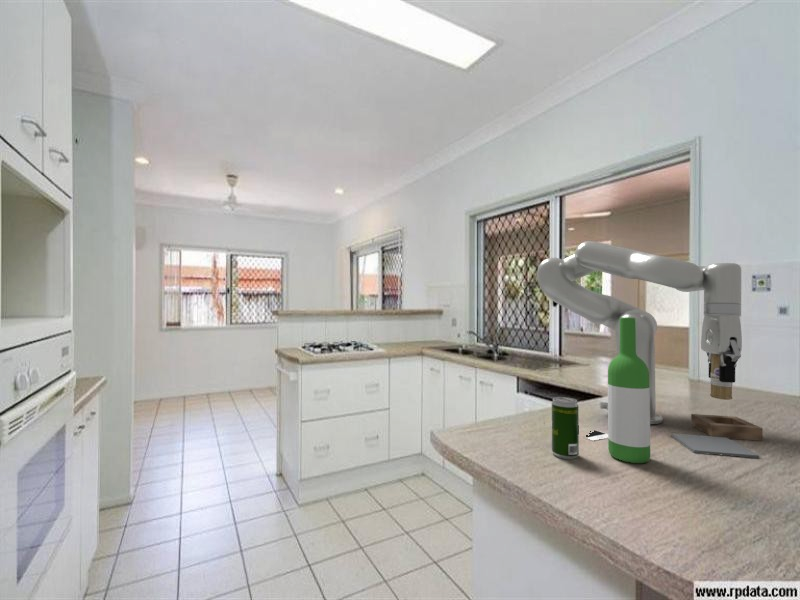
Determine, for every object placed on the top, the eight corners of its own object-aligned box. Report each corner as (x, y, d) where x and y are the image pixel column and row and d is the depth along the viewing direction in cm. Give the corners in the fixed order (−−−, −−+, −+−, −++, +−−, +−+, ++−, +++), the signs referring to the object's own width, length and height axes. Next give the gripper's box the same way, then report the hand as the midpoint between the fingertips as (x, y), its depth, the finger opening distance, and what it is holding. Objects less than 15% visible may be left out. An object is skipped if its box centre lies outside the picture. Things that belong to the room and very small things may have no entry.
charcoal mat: (694, 452, 84) (694, 450, 84) (670, 435, 96) (670, 433, 96) (759, 458, 81) (759, 455, 81) (726, 440, 93) (726, 437, 93)
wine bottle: (611, 461, 79) (609, 317, 80) (605, 449, 86) (604, 317, 87) (654, 467, 76) (653, 318, 77) (645, 454, 84) (644, 317, 84)
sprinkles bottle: (709, 398, 99) (710, 346, 99) (710, 395, 103) (710, 345, 103) (733, 401, 96) (733, 348, 96) (732, 398, 100) (733, 346, 100)
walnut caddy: (712, 436, 95) (711, 424, 95) (691, 424, 105) (691, 413, 105) (762, 440, 93) (762, 428, 93) (736, 427, 103) (736, 416, 103)
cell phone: (593, 443, 92) (593, 440, 92) (542, 424, 106) (542, 422, 106) (615, 438, 95) (615, 436, 95) (563, 421, 109) (563, 419, 109)
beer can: (584, 457, 81) (584, 401, 82) (566, 461, 79) (566, 403, 79) (563, 449, 86) (563, 395, 87) (546, 452, 84) (546, 398, 84)
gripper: (689, 310, 109) (689, 373, 109) (723, 310, 93) (722, 385, 92) (720, 310, 107) (720, 375, 107) (760, 311, 91) (760, 387, 90)
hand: (721, 379), depth 100 cm, fingers closed on sprinkles bottle, 4 cm apart
